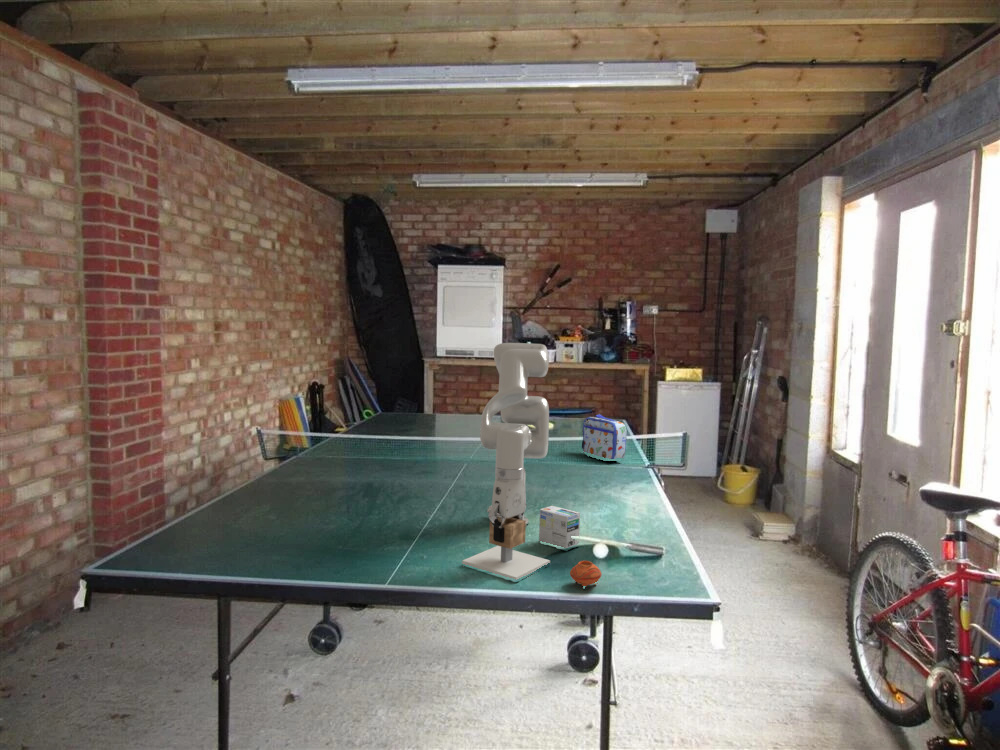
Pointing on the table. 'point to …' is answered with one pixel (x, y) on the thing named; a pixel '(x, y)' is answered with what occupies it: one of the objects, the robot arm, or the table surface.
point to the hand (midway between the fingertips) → (507, 537)
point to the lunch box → (604, 437)
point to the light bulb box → (559, 526)
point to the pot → (585, 573)
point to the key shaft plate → (506, 562)
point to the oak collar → (510, 533)
